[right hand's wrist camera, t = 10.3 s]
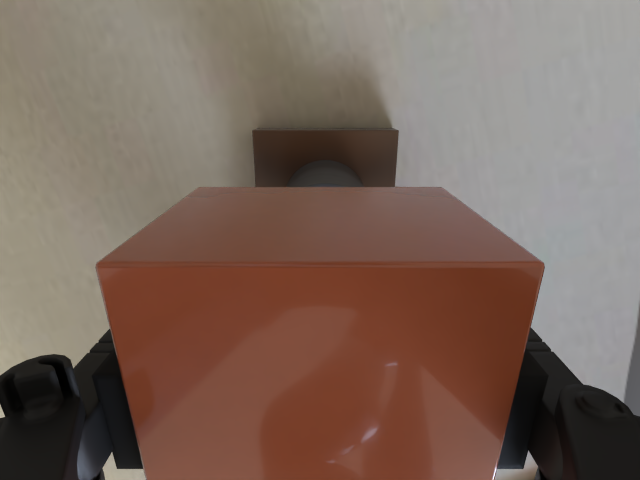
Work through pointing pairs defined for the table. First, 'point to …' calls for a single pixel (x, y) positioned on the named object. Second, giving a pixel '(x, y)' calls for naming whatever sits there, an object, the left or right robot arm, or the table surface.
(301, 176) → the walnut stand
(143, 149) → the table surface
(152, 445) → the terracotta cap
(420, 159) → the table surface
